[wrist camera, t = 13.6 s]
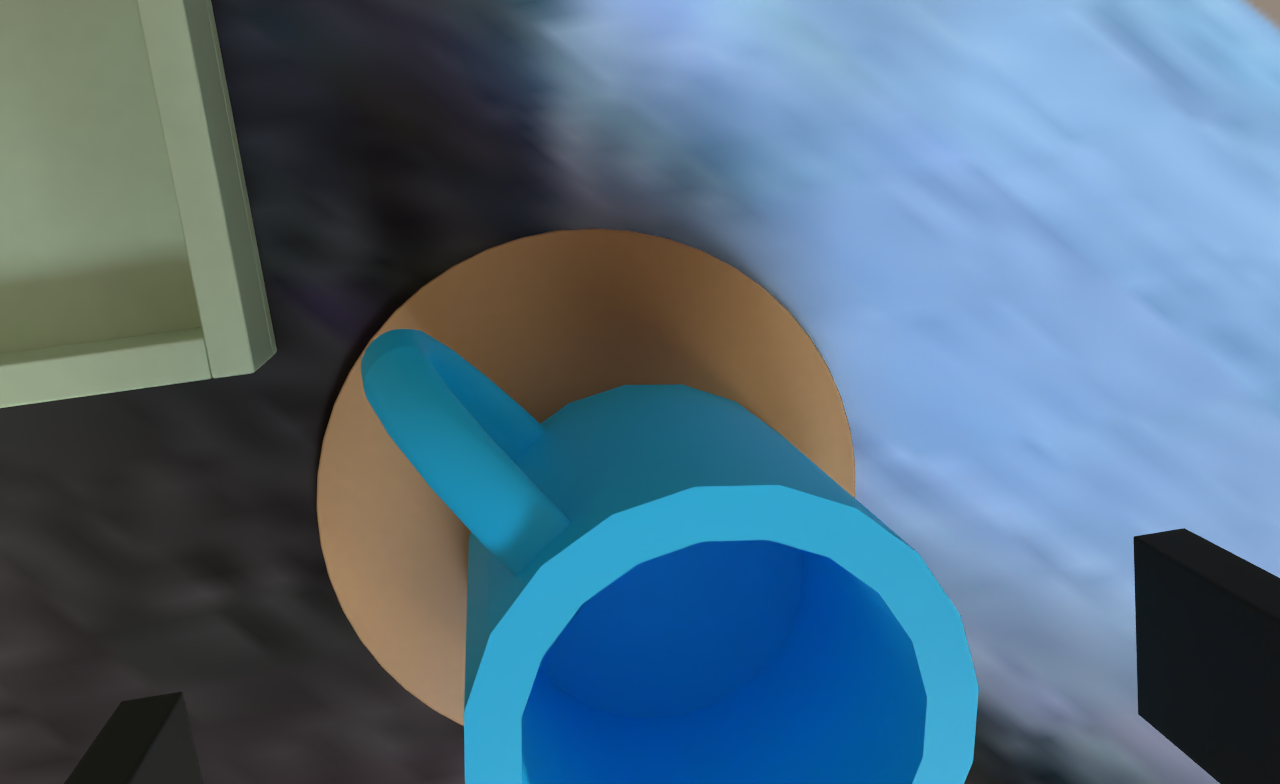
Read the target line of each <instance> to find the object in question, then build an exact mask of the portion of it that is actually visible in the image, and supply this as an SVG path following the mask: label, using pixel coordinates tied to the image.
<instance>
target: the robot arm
mask: <svg viewBox="0 0 1280 784" xmlns="http://www.w3.org/2000/svg"><path fill="white" fill-rule="evenodd" d="M1134 567H1135V605H1136V643H1137V680H1138V714H1139V715H1140V716H1141V717H1142V718H1144V719H1145V720H1146V721H1147V722H1148V723H1150V724H1151V725H1152V726H1153V727H1154V728H1155V729H1157V730H1158V731H1159V732H1160V733H1161V734H1163V735H1164V736H1165V737H1166V738H1167V739H1168V740H1170V741H1171V742H1172V743H1173V744H1174V745H1175V746H1177V747H1178V748H1179V749H1180V750H1181V751H1183V752H1184V753H1185V754H1186V755H1187V756H1188V757H1190V758H1191V759H1192V760H1193V761H1194V762H1196V763H1197V764H1198V765H1199V766H1200V767H1201V768H1203V769H1204V770H1205V771H1206V772H1207V773H1208V774H1210V775H1211V776H1212V777H1213V778H1214V779H1216V780H1217V781H1218V782H1219V783H1220V784H1280V578H1278V577H1276V576H1275V575H1273V574H1271V573H1269V572H1267V571H1265V570H1263V569H1261V568H1259V567H1257V566H1255V565H1253V564H1252V563H1250V562H1248V561H1246V560H1244V559H1242V558H1240V557H1238V556H1236V555H1234V554H1232V553H1231V552H1229V551H1227V550H1225V549H1223V548H1221V547H1219V546H1217V545H1215V544H1213V543H1211V542H1209V541H1208V540H1206V539H1204V538H1202V537H1200V536H1198V535H1196V534H1194V533H1192V532H1190V531H1188V530H1186V529H1185V528H1184V529H1178V530H1171V531H1165V532H1159V533H1153V534H1147V535H1141V536H1135V537H1134ZM64 784H203V782H202V778H201V773H200V769H199V764H198V760H197V755H196V751H195V746H194V742H193V737H192V733H191V728H190V724H189V719H188V715H187V710H186V706H185V701H184V697H183V692H178V693H172V694H165V695H159V696H153V697H147V698H141V699H135V700H129V701H123V702H121V703H120V705H119V706H118V708H117V709H116V710H115V712H114V713H113V715H112V716H111V718H110V719H109V720H108V722H107V723H106V725H105V726H104V728H103V729H102V730H101V732H100V733H99V735H98V736H97V738H96V739H95V740H94V742H93V743H92V745H91V746H90V748H89V749H88V750H87V752H86V753H85V755H84V756H83V758H82V759H81V760H80V762H79V763H78V765H77V766H76V768H75V769H74V770H73V772H72V773H71V775H70V776H69V778H68V779H67V781H66V782H65V783H64Z"/></svg>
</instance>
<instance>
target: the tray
mask: <svg viewBox="0 0 1280 784" xmlns="http://www.w3.org/2000/svg"><path fill="white" fill-rule="evenodd" d="M276 352H277V348H276V342H275V337H274V332H273V327H272V321H271V316H270V311H269V305H268V300H267V295H266V289H265V284H264V279H263V273H262V268H261V263H260V258H259V252H258V247H257V242H256V236H255V231H254V226H253V220H252V215H251V210H250V205H249V199H248V194H247V189H246V183H245V178H244V173H243V167H242V162H241V157H240V151H239V146H238V141H237V136H236V130H235V125H234V120H233V114H232V109H231V104H230V98H229V93H228V88H227V83H226V77H225V72H224V67H223V61H222V56H221V51H220V45H219V40H218V35H217V29H216V24H215V19H214V14H213V8H212V3H211V0H0V408H4V407H11V406H18V405H25V404H33V403H40V402H47V401H54V400H62V399H69V398H76V397H83V396H90V395H98V394H105V393H112V392H119V391H127V390H134V389H141V388H148V387H156V386H163V385H170V384H177V383H184V382H192V381H199V380H206V379H210V378H212V377H213V378H221V377H228V376H236V375H243V374H250V373H254V372H255V371H256V370H257V369H259V368H260V367H261V366H262V365H263V364H264V363H265V362H267V361H268V360H269V359H270V358H271V357H272V356H273V355H274V354H275V353H276Z"/></svg>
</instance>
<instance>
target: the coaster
mask: <svg viewBox="0 0 1280 784" xmlns="http://www.w3.org/2000/svg"><path fill="white" fill-rule="evenodd" d="M396 329H415V330H420V331H423V332H424V333H426V334H428V335H429V336H431V337H433V338H434V339H436V340H438V341H439V342H441V343H443V344H444V345H446V346H447V347H449V348H450V349H452V350H453V351H455V352H456V353H457V354H458V355H460V356H461V357H462V358H464V359H465V360H466V361H467V362H469V363H470V364H471V365H473V366H474V367H475V368H477V369H478V370H479V371H480V372H482V373H483V374H484V375H486V376H487V377H488V378H489V379H490V380H491V381H493V382H494V383H495V384H496V385H497V386H498V387H500V388H501V389H502V390H503V391H504V392H505V393H506V394H508V395H509V396H510V397H511V398H512V399H513V400H515V401H516V402H517V403H518V404H519V405H520V406H521V407H523V408H524V409H525V410H526V411H527V412H528V413H529V414H530V415H531V416H532V417H534V418H535V419H536V420H537V421H538V422H539V423H540V424H541V423H542V422H544V421H545V420H546V419H548V418H549V417H550V416H552V415H553V414H555V413H556V412H557V411H559V410H560V409H562V408H563V407H564V406H566V405H567V404H568V403H571V402H574V401H577V400H580V399H583V398H586V397H589V396H592V395H595V394H598V393H601V392H605V391H608V390H611V389H614V388H617V387H620V386H623V385H668V384H683V385H686V386H689V387H692V388H695V389H698V390H702V391H705V392H708V393H711V394H714V395H717V396H720V397H724V398H727V399H730V400H733V401H736V402H737V403H739V404H740V405H741V406H743V407H744V408H746V409H747V410H748V411H750V412H751V413H752V414H754V415H755V416H756V417H758V418H759V419H761V420H762V421H763V422H765V423H766V424H767V425H769V426H770V427H771V428H773V429H774V430H775V431H777V432H778V433H780V434H781V435H782V436H783V437H784V438H785V439H787V440H788V441H789V442H790V443H791V444H792V445H793V446H795V447H796V448H797V449H798V450H799V451H800V452H802V453H803V454H804V455H805V456H806V457H807V458H809V459H810V460H811V461H812V462H813V463H814V464H815V465H817V466H818V467H819V468H820V469H821V470H822V471H824V472H825V473H826V474H827V475H828V476H829V477H831V478H832V479H833V480H834V481H835V482H836V483H837V484H839V485H840V486H841V487H842V488H843V489H844V490H846V491H847V492H848V493H849V494H850V495H851V496H853V497H854V498H855V459H854V453H853V446H852V439H851V433H850V427H849V423H848V420H847V416H846V413H845V410H844V406H843V403H842V399H841V396H840V394H839V391H838V389H837V387H836V385H835V382H834V380H833V378H832V375H831V373H830V371H829V369H828V366H827V364H826V363H825V361H824V360H823V358H822V356H821V355H820V353H819V352H818V350H817V348H816V347H815V345H814V343H813V342H812V340H811V339H810V337H809V336H808V334H807V333H806V332H805V331H804V330H803V328H802V327H801V326H800V325H799V323H798V322H797V321H796V320H795V319H794V317H793V316H792V315H791V314H790V313H789V311H788V310H787V309H786V308H785V307H784V306H783V305H781V304H780V303H779V302H778V301H777V300H776V299H775V298H774V297H773V296H772V295H771V294H770V293H768V292H767V291H766V290H765V289H764V288H763V287H762V286H760V285H759V284H758V283H756V282H755V281H753V280H752V279H750V278H749V277H748V276H746V275H745V274H743V273H742V272H740V271H739V270H738V269H736V268H735V267H733V266H731V265H729V264H727V263H725V262H723V261H721V260H719V259H718V258H716V257H714V256H712V255H710V254H708V253H706V252H704V251H702V250H699V249H696V248H693V247H691V246H688V245H685V244H682V243H679V242H676V241H674V240H671V239H668V238H664V237H659V236H655V235H650V234H645V233H640V232H635V231H630V230H616V229H602V228H586V229H569V230H556V231H551V232H546V233H541V234H536V235H531V236H526V237H521V238H518V239H515V240H512V241H509V242H506V243H503V244H501V245H498V246H495V247H492V248H489V249H486V250H484V251H482V252H480V253H478V254H476V255H474V256H472V257H470V258H468V259H466V260H464V261H462V262H460V263H458V264H456V265H454V266H452V267H451V268H449V269H448V270H446V271H445V272H443V273H442V274H440V275H439V276H437V277H436V278H434V279H433V280H431V281H430V282H428V283H427V284H425V285H424V286H422V287H421V288H420V289H419V290H418V291H417V292H416V293H414V294H413V295H412V296H411V297H410V298H409V299H408V300H407V301H405V302H404V303H403V304H402V305H401V306H400V307H399V308H397V309H396V310H395V311H394V312H393V314H392V315H391V316H390V317H389V318H388V319H387V321H386V322H385V323H384V324H383V325H382V326H381V328H380V329H379V330H378V331H377V332H376V333H375V334H374V336H373V337H372V338H371V339H370V341H369V342H368V344H367V345H366V347H365V349H364V350H363V352H362V353H361V355H360V356H359V358H358V359H357V361H356V362H355V364H354V365H353V367H352V368H351V370H350V372H349V374H348V376H347V378H346V380H345V382H344V384H343V386H342V389H341V391H340V393H339V395H338V397H337V399H336V401H335V403H334V406H333V409H332V413H331V416H330V419H329V422H328V425H327V428H326V432H325V435H324V438H323V443H322V449H321V455H320V461H319V467H318V473H317V518H318V527H319V535H320V544H321V548H322V552H323V556H324V560H325V563H326V567H327V571H328V575H329V578H330V581H331V583H332V586H333V588H334V590H335V593H336V595H337V598H338V600H339V602H340V605H341V607H342V610H343V611H344V613H345V615H346V616H347V618H348V620H349V622H350V623H351V625H352V627H353V628H354V630H355V632H356V633H357V635H358V637H359V638H360V640H361V641H362V642H363V644H364V645H365V646H366V647H367V649H368V650H369V651H370V652H371V654H372V655H373V656H374V658H375V659H376V660H377V661H378V663H379V664H380V665H381V666H382V667H383V668H384V669H385V670H386V671H387V672H388V673H389V674H390V675H391V676H392V677H393V678H394V679H395V680H396V681H397V682H398V683H399V684H401V685H402V686H403V687H404V688H405V689H406V690H407V691H408V692H410V693H411V694H413V695H414V696H415V697H417V698H418V699H419V700H421V701H422V702H424V703H425V704H426V705H428V706H429V707H430V708H432V709H433V710H435V711H437V712H439V713H440V714H442V715H444V716H446V717H448V718H449V719H451V720H453V721H455V722H457V723H459V724H460V725H462V726H464V695H465V659H466V623H467V586H468V550H469V536H470V533H471V531H470V530H469V529H468V528H467V527H466V526H465V525H464V523H463V522H462V521H461V520H460V519H459V518H458V517H457V516H456V515H455V514H454V513H453V511H452V510H451V509H450V508H449V507H448V506H447V505H446V504H445V503H444V502H443V501H442V500H441V498H440V497H439V496H438V495H437V494H436V493H435V492H434V491H433V490H432V489H431V487H430V486H429V485H428V484H427V482H426V481H425V480H424V479H423V477H422V476H421V475H420V474H419V472H418V471H417V470H416V469H415V467H414V466H413V465H412V464H411V462H410V461H409V460H408V458H407V457H406V456H405V455H404V453H403V452H402V451H401V450H400V448H399V447H398V446H397V445H396V443H395V442H394V441H393V440H392V438H391V437H390V436H389V434H388V433H387V431H386V430H385V428H384V426H383V425H382V423H381V421H380V420H379V418H378V416H377V415H376V413H375V411H374V410H373V408H372V406H371V405H370V403H369V401H368V400H367V398H366V395H365V391H364V386H363V380H362V373H361V363H362V358H363V355H364V353H365V351H366V349H367V348H368V346H369V345H370V344H371V343H372V341H373V340H375V339H376V338H377V337H379V336H380V335H381V334H383V333H386V332H388V331H390V330H396Z"/></svg>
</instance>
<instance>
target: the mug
mask: <svg viewBox="0 0 1280 784" xmlns="http://www.w3.org/2000/svg"><path fill="white" fill-rule="evenodd" d="M361 373H362V380H363V386H364V391H365V395H366V398H367V400H368V401H369V403H370V405H371V406H372V408H373V410H374V411H375V413H376V415H377V416H378V418H379V420H380V421H381V423H382V425H383V426H384V428H385V430H386V431H387V433H388V434H389V436H390V437H391V438H392V440H393V441H394V442H395V443H396V445H397V446H398V447H399V448H400V450H401V451H402V452H403V453H404V455H405V456H406V457H407V458H408V460H409V461H410V462H411V464H412V465H413V466H414V467H415V469H416V470H417V471H418V472H419V474H420V475H421V476H422V477H423V479H424V480H425V481H426V482H427V484H428V485H429V486H430V487H431V489H432V490H433V491H434V492H435V493H436V494H437V495H438V496H439V497H440V498H441V500H442V501H443V502H444V503H445V504H446V505H447V506H448V507H449V508H450V509H451V510H452V511H453V513H454V514H455V515H456V516H457V517H458V518H459V519H460V520H461V521H462V522H463V523H464V525H465V526H466V527H467V528H468V529H469V530H470V531H471V533H470V536H469V550H468V586H467V623H466V659H465V695H464V748H465V784H964V782H965V779H966V777H967V775H968V772H969V770H970V767H971V765H972V762H973V754H974V742H975V729H976V716H977V704H978V691H979V686H978V682H977V678H976V674H975V670H974V666H973V662H972V658H971V654H970V650H969V646H968V643H967V639H966V635H965V631H964V627H963V623H962V619H961V615H960V614H959V612H958V611H957V609H956V608H955V607H954V605H953V604H952V602H951V601H950V599H949V598H948V596H947V595H946V593H945V592H944V590H943V589H942V587H941V586H940V584H939V583H938V581H937V580H936V578H935V577H934V575H933V574H932V572H931V571H930V570H929V568H928V567H927V565H926V564H925V562H924V561H923V559H922V558H921V556H920V555H919V553H917V552H916V551H915V550H914V549H913V548H912V547H910V546H909V545H908V544H907V543H906V542H905V541H903V540H902V539H901V538H900V537H899V536H898V535H897V534H895V533H894V532H893V531H892V530H891V529H890V528H888V527H887V526H886V525H885V524H884V523H883V522H881V521H880V520H879V519H878V518H877V517H876V516H875V515H873V514H872V513H871V512H870V511H869V510H868V509H866V508H865V507H864V506H863V505H862V504H861V503H859V502H858V501H857V500H856V499H855V498H854V497H853V496H851V495H850V494H849V493H848V492H847V491H846V490H844V489H843V488H842V487H841V486H840V485H839V484H837V483H836V482H835V481H834V480H833V479H832V478H831V477H829V476H828V475H827V474H826V473H825V472H824V471H822V470H821V469H820V468H819V467H818V466H817V465H815V464H814V463H813V462H812V461H811V460H810V459H809V458H807V457H806V456H805V455H804V454H803V453H802V452H800V451H799V450H798V449H797V448H796V447H795V446H793V445H792V444H791V443H790V442H789V441H788V440H787V439H785V438H784V437H783V436H782V435H781V434H780V433H778V432H777V431H775V430H774V429H773V428H771V427H770V426H769V425H767V424H766V423H765V422H763V421H762V420H761V419H759V418H758V417H756V416H755V415H754V414H752V413H751V412H750V411H748V410H747V409H746V408H744V407H743V406H741V405H740V404H739V403H737V402H736V401H733V400H730V399H727V398H724V397H720V396H717V395H714V394H711V393H708V392H705V391H702V390H698V389H695V388H692V387H689V386H686V385H683V384H668V385H623V386H620V387H617V388H614V389H611V390H608V391H605V392H601V393H598V394H595V395H592V396H589V397H586V398H583V399H580V400H577V401H574V402H571V403H568V404H567V405H566V406H564V407H563V408H562V409H560V410H559V411H557V412H556V413H555V414H553V415H552V416H550V417H549V418H548V419H546V420H545V421H544V422H542V423H541V424H540V423H539V422H538V421H537V420H536V419H535V418H534V417H532V416H531V415H530V414H529V413H528V412H527V411H526V410H525V409H524V408H523V407H521V406H520V405H519V404H518V403H517V402H516V401H515V400H513V399H512V398H511V397H510V396H509V395H508V394H506V393H505V392H504V391H503V390H502V389H501V388H500V387H498V386H497V385H496V384H495V383H494V382H493V381H491V380H490V379H489V378H488V377H487V376H486V375H484V374H483V373H482V372H480V371H479V370H478V369H477V368H475V367H474V366H473V365H471V364H470V363H469V362H467V361H466V360H465V359H464V358H462V357H461V356H460V355H458V354H457V353H456V352H455V351H453V350H452V349H450V348H449V347H447V346H446V345H444V344H443V343H441V342H439V341H438V340H436V339H434V338H433V337H431V336H429V335H428V334H426V333H424V332H423V331H420V330H415V329H396V330H390V331H388V332H386V333H383V334H381V335H380V336H379V337H377V338H376V339H375V340H373V341H372V343H371V344H370V345H369V346H368V348H367V349H366V351H365V353H364V355H363V358H362V363H361Z"/></svg>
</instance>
